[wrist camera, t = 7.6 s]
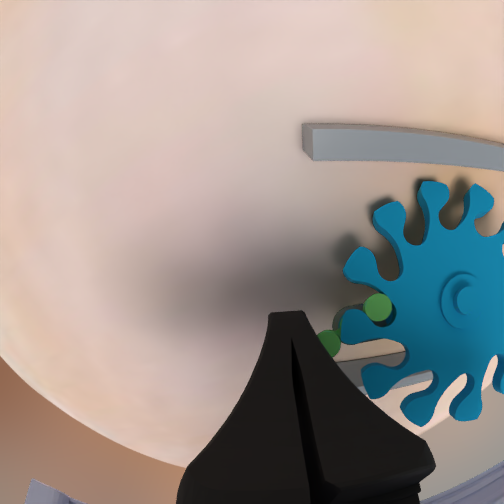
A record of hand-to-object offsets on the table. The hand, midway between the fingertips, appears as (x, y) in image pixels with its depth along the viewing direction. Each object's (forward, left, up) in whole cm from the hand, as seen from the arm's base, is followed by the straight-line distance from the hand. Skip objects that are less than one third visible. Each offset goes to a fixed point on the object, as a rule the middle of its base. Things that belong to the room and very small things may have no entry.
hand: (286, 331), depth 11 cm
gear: (+1, -6, -3) cm, 7 cm away
